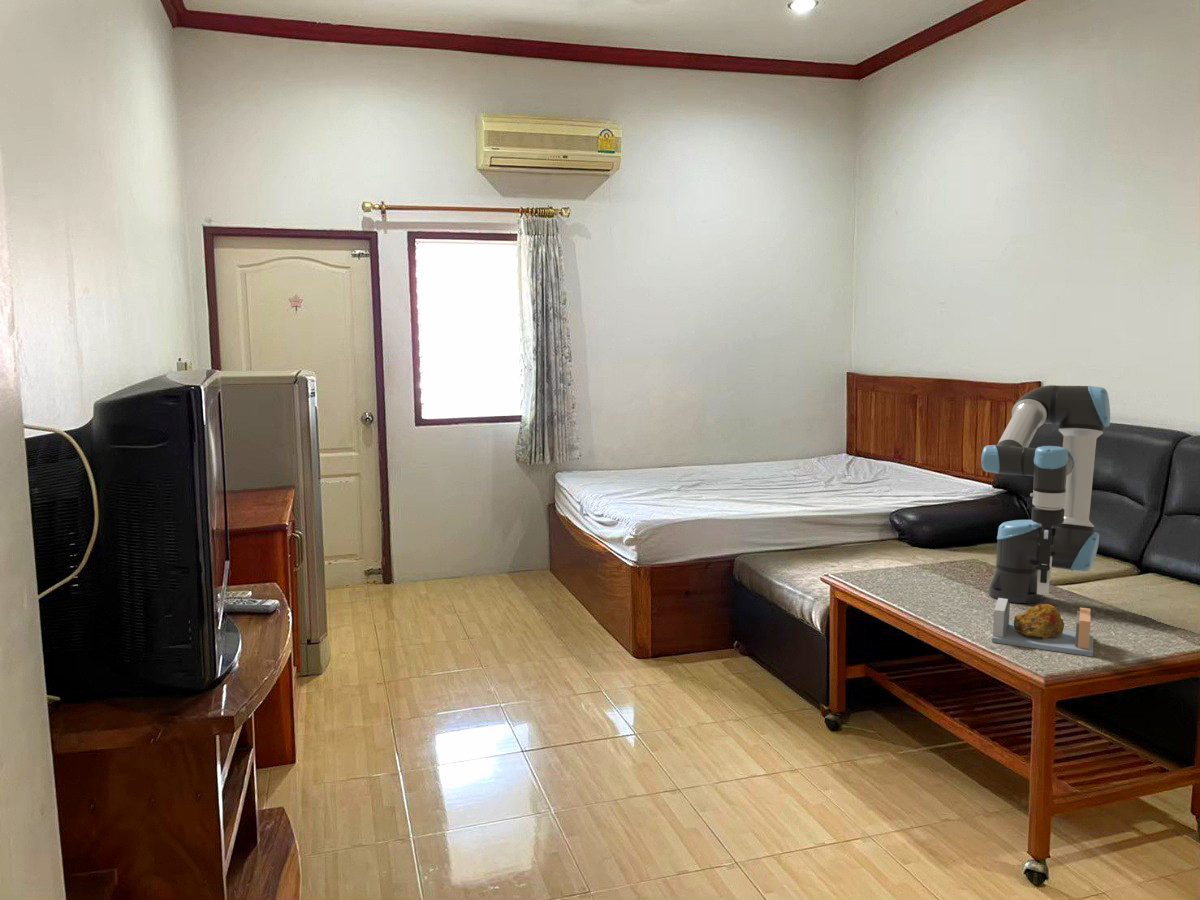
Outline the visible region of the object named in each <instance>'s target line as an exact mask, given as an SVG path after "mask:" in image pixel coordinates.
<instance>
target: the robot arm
mask: <svg viewBox="0 0 1200 900" xmlns="http://www.w3.org/2000/svg"><path fill="white" fill-rule="evenodd" d="M1043 425H1058V432H1059V433H1060V434H1061V435H1062V437H1063V440H1062V446H1055V445H1042V446H1037V447H1029V446H1030V444H1031V443H1032V440H1033V438H1034V436H1035V434H1036V432H1037V430H1038V428H1040V427H1041V426H1043ZM1110 426H1111V407H1110V399H1109V394H1108V391H1107V389H1106V388H1104V387H1102V386H1091V385H1053V384H1051V385H1044V386H1040V387H1039V386H1038V387H1037V388H1034V389H1032V390H1030V391H1028V392H1027V393H1025V394H1023V395H1022V396H1021V397H1020V398H1018V400H1016V402H1015V403H1014V405H1013V407H1012V409H1011V418H1010V419H1009V422H1008V424H1007V426H1006V427H1005V429H1004V431H1003V433H1002V435H1001V437H1000V439H999V440H998V443H996V444H992V445H989V444H987V445H986V446H983V449H982V453H981V462H980V463H981V468H982V471H984V472H986V473H993V474H996V475H997V474H1000V475H1001V474H1002V475H1015V476H1017V475H1019V476H1030V477H1033V487H1032V491H1033V492H1030V494H1029V496H1030V497H1032V505H1033V506H1032V507H1031V519H1015V520H1009V521H1004V522H1002V523H1001V524H1000V525H999V526H998V529H997V530H998V531H997V536H996V540H997V542H996V545H997V546H996V559H995V561H996V563H995V571H994V573H993V576H992V578H991V581H990V582H989V586H988V595H989V596H991V597H992V598H994V599H996V600H998V598H1004V599H1008V603H1016V604H1035V603H1040V602H1042V601H1043V600H1044V596H1049V594H1050V581H1051V580H1052V568H1054V569H1059V570H1068V571H1072V572H1073V571H1078V572H1088V571H1089V570H1091V569H1092V567H1093V565H1094V562H1095V559H1096V556H1097V552H1098V548H1099V543H1100V542H1099V541H1100V534H1099V533H1098V532H1097V531H1095V525H1094V524H1093V522H1091V521H1090V513H1091V512H1090V511H1091V502H1092V491H1093V481H1094V480H1093V479H1094V471H1095V469H1094V468H1095V457H1096V447H1097V440H1098V438H1099V437H1100V436H1101V435H1103V433H1104V428H1109V427H1110Z"/></svg>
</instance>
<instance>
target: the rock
mask: <svg viewBox="0 0 1200 900" xmlns="http://www.w3.org/2000/svg"><path fill="white" fill-rule="evenodd" d="M1013 623H1014V627H1015V629H1016V630H1017V631H1019V632H1020V633H1021V634H1024V635H1026V636H1036V637H1041V638H1043V639H1047V638H1051V637H1054V638H1056V637H1057V636H1060V635H1061V633H1062V632H1063V630H1065V629H1064V628H1065V623H1064V619H1063V618H1062V616H1061V614H1060V611H1059V610H1058V609H1056V607H1055V606H1053V605H1052V604H1049V603H1043V604H1041V603H1040V604H1037V605H1035V606H1032V607H1029V608H1028V609H1027V611H1025V613H1020V614H1016V615H1015V616H1014V620H1013Z"/></svg>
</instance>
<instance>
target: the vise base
mask: <svg viewBox="0 0 1200 900" xmlns="http://www.w3.org/2000/svg"><path fill="white" fill-rule="evenodd" d="M996 600H997V601H996V603H995V606H994V611H993V626H992V627H993V628H992V637H991V642H992V643H996V644H1003V645H1008V646H1009V645H1010V646H1016V647H1018V646H1019V647H1024V648H1032V649H1039V650H1043V651H1044V650H1045V651H1050V652H1051V651H1052V652H1058V653H1059V652H1060V653H1066V654H1073V655H1079V656H1084V657H1085V656H1087V657H1094V633H1090V636H1089V649H1085V648H1078V646H1075V638H1076V630H1075V631H1074V630H1067V629H1063V632H1062V633H1061V635H1060V636H1057V637H1056V638H1054V637H1051V638H1047V639H1043V638H1041V637H1036V636H1026V635H1024V634H1021V633H1020V632H1019V631H1017V630H1016V629H1015V627H1014V622H1010V614H1011V613H1010V611H1011V610H1010V609H1011V602H1008V599H1004V598H998V599H996Z"/></svg>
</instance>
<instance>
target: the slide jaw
mask: <svg viewBox="0 0 1200 900" xmlns="http://www.w3.org/2000/svg"><path fill="white" fill-rule="evenodd" d="M1090 631H1091V608H1088V607H1079V610H1077V611H1076V622H1075V632H1076V638H1075V646H1078V648H1085V649H1089V636H1090V634H1091V632H1090Z"/></svg>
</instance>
